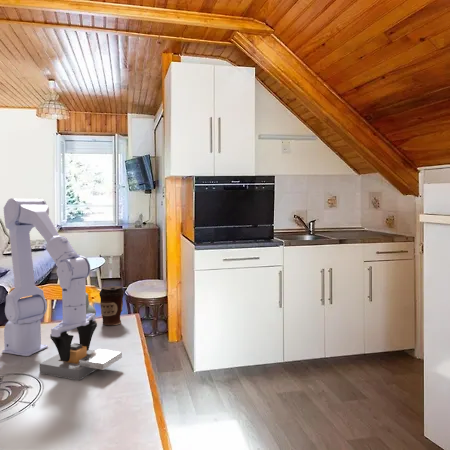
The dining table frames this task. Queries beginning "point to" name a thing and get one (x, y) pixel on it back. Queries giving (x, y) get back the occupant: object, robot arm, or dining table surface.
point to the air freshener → (89, 307)
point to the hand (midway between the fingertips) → (75, 355)
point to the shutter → (100, 359)
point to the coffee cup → (111, 304)
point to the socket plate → (65, 368)
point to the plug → (77, 353)
